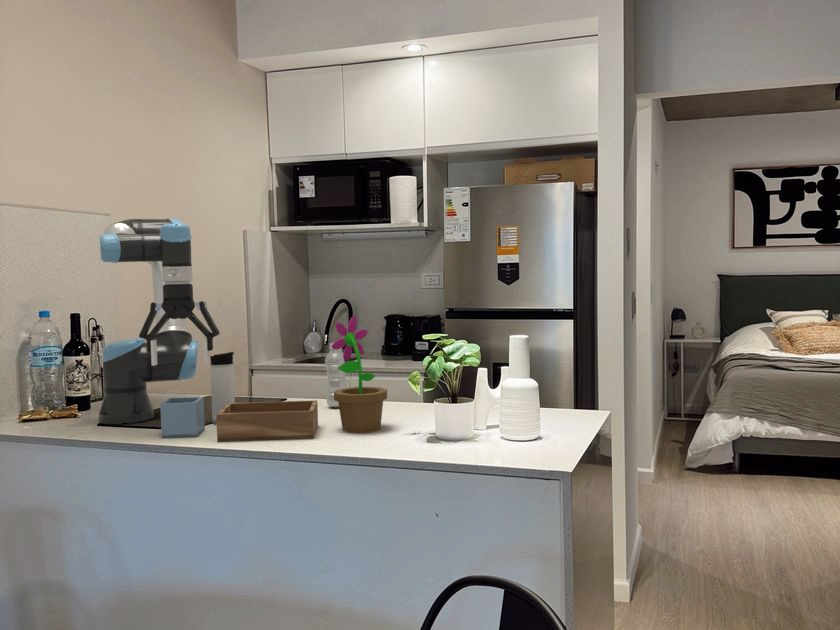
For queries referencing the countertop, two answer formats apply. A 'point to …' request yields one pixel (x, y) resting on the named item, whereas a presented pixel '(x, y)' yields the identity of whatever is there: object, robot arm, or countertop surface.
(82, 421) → the countertop surface
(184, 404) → the slate crate
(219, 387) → the travel mug
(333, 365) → the plastic bottle
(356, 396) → the flowerpot
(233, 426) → the walnut crate
